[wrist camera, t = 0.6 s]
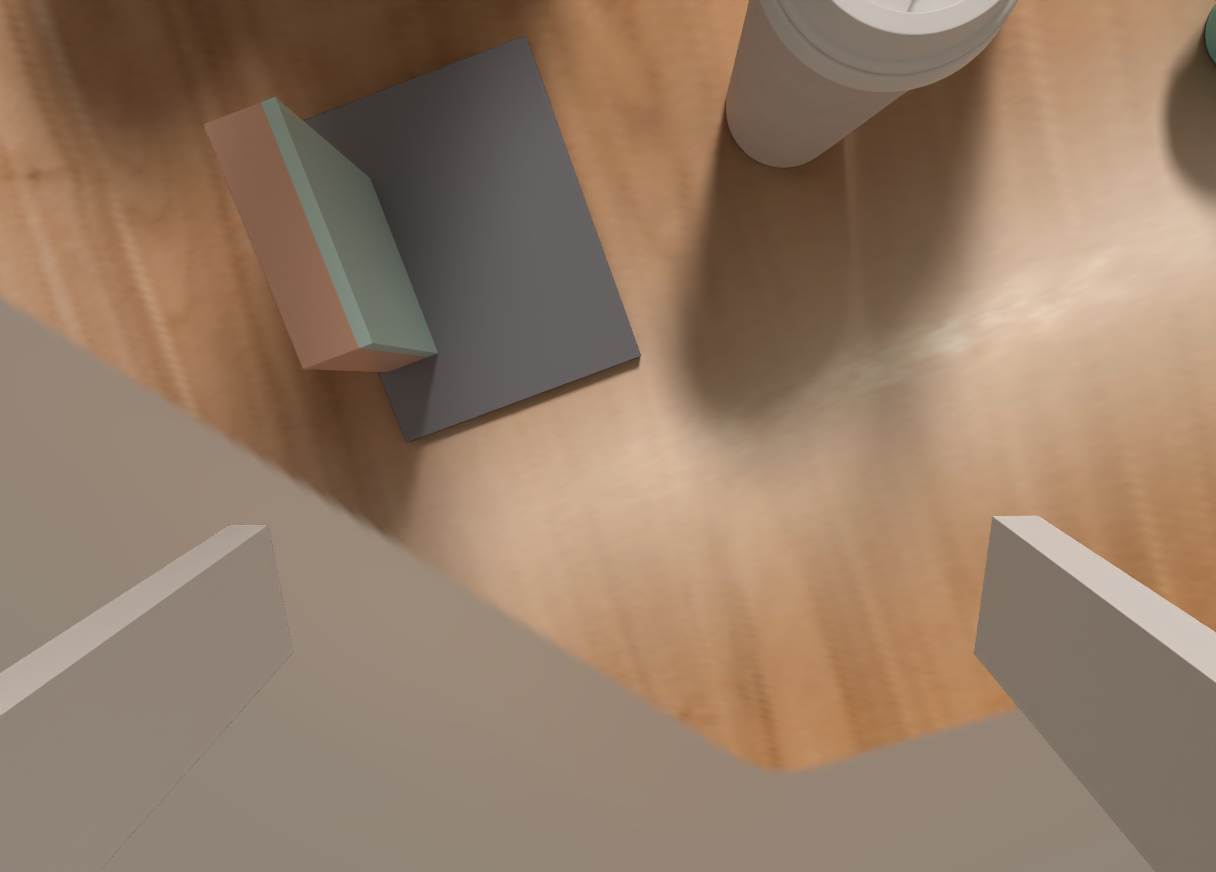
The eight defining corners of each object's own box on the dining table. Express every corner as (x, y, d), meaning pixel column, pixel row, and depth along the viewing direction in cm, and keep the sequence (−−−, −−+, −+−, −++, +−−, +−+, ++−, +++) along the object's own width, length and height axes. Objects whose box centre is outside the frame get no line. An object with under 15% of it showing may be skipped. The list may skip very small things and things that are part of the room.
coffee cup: (781, 233, 35) (909, 127, 21) (660, 105, 35) (703, -100, 20) (908, 107, 35) (1135, -96, 20) (788, -25, 34) (929, -336, 19)
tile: (318, 197, 35) (203, 124, 25) (370, 178, 35) (275, 96, 25) (387, 372, 35) (303, 369, 25) (438, 353, 35) (372, 342, 25)
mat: (286, 133, 35) (281, 128, 34) (527, 41, 34) (525, 35, 34) (409, 441, 36) (406, 442, 36) (640, 356, 36) (641, 355, 35)
